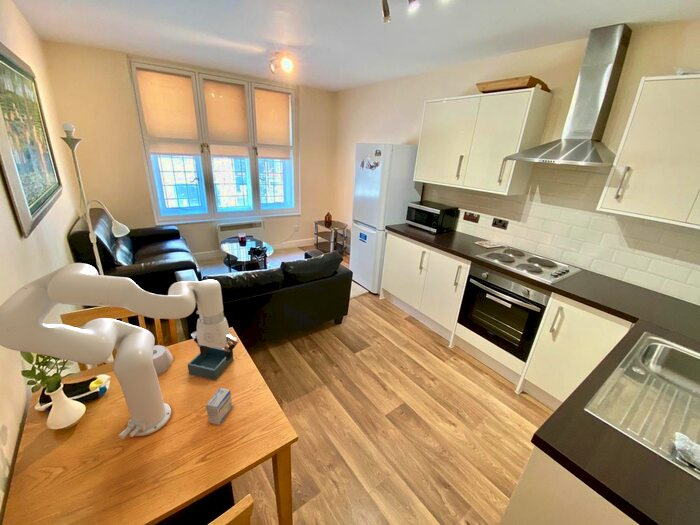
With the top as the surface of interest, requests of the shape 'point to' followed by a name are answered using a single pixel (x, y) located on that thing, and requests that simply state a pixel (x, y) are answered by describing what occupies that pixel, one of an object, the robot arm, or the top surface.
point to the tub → (209, 364)
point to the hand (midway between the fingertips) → (217, 356)
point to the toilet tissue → (161, 359)
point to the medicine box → (219, 406)
